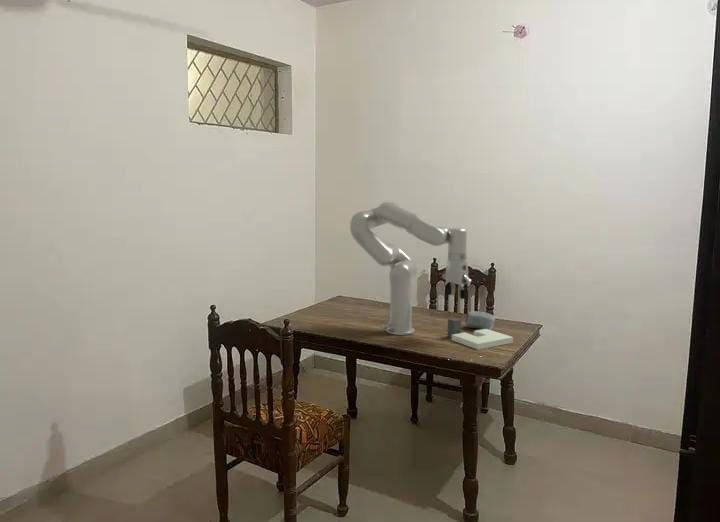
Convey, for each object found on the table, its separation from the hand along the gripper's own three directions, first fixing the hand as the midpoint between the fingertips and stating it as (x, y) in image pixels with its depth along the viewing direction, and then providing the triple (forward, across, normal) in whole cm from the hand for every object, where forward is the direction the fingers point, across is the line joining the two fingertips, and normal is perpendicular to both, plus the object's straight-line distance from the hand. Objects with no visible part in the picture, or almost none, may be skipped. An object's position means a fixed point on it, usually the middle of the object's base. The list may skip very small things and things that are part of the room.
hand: (455, 296), depth 239 cm
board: (+18, -11, -6) cm, 22 cm away
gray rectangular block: (+18, 0, 0) cm, 18 cm away
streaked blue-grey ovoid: (+18, +5, -20) cm, 28 cm away
